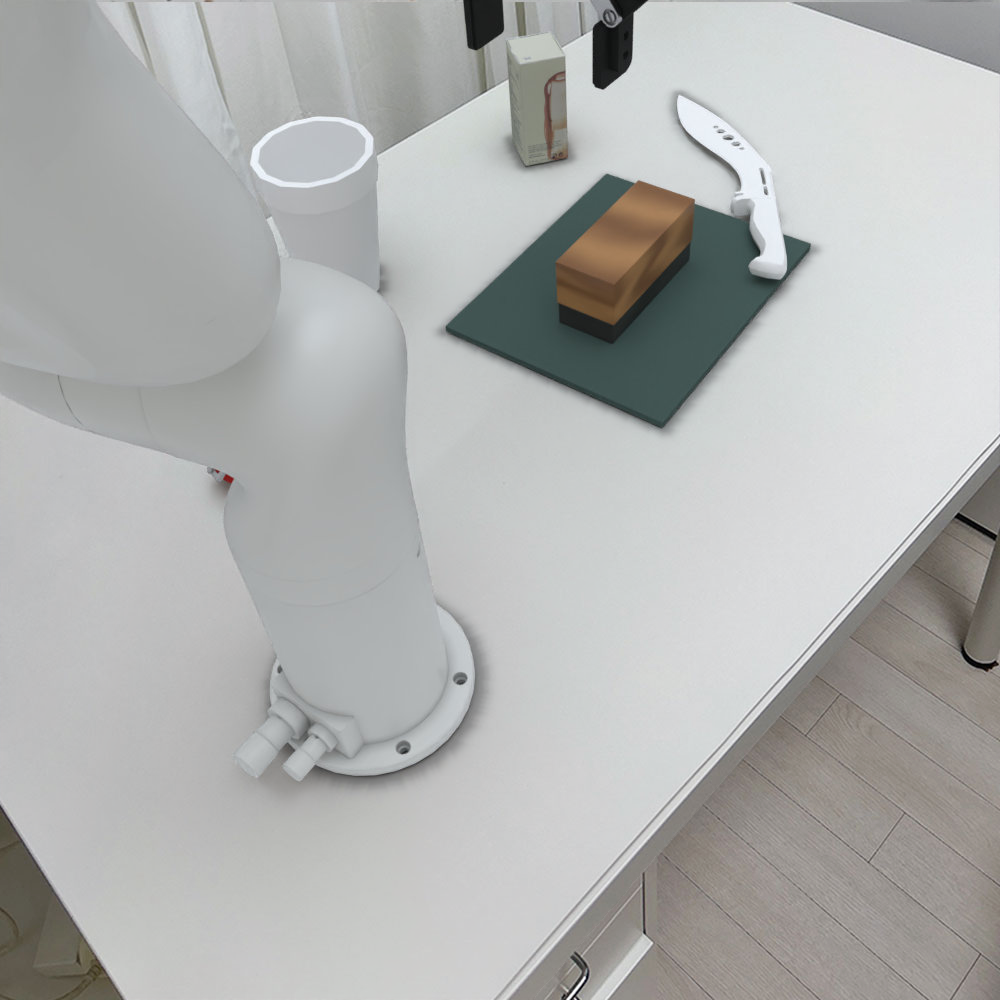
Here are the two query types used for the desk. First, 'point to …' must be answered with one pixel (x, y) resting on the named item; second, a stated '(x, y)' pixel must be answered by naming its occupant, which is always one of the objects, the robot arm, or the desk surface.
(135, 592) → the desk surface
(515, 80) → the cream tall box
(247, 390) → the robot arm
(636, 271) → the scrub brush
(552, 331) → the mat
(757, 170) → the knife
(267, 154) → the foam cup
